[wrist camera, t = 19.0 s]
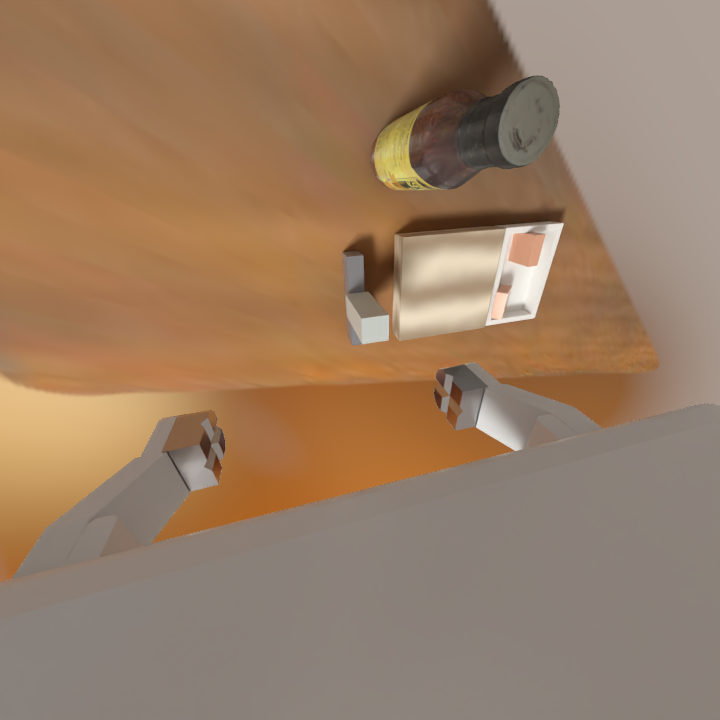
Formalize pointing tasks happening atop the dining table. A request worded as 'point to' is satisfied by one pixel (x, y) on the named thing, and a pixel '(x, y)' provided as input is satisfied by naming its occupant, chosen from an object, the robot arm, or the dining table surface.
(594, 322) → the dining table surface
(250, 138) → the dining table surface
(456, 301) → the birch board
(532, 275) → the tray
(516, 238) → the tile
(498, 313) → the tile
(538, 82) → the sauce bottle
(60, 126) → the dining table surface
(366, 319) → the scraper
